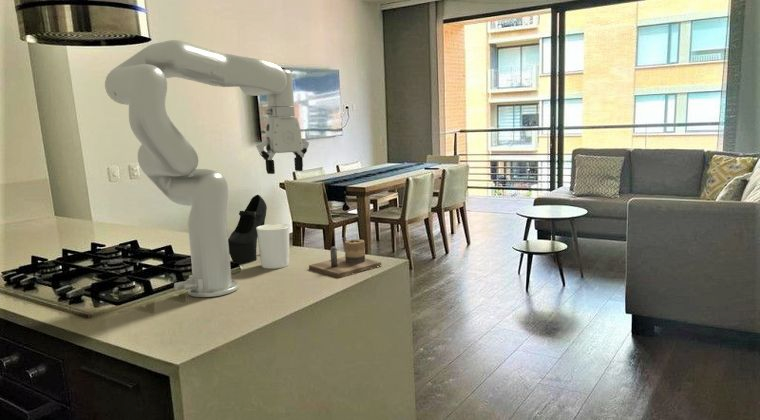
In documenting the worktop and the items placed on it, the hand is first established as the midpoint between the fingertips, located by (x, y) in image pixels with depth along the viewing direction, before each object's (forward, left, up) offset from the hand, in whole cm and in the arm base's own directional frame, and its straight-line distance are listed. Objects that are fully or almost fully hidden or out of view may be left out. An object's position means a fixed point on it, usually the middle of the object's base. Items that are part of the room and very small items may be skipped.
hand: (285, 172), depth 162 cm
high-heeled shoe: (-4, +17, -28) cm, 33 cm away
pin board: (+9, -15, -28) cm, 33 cm away
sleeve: (+13, -15, -27) cm, 34 cm away
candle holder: (-3, +4, -28) cm, 29 cm away
